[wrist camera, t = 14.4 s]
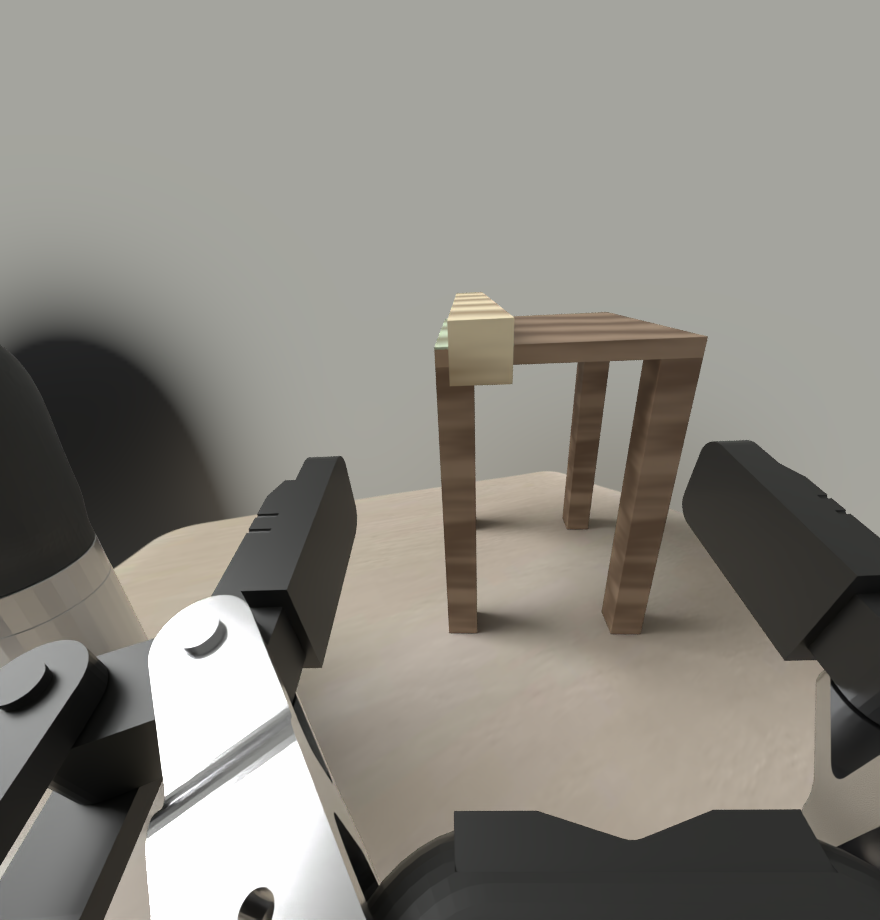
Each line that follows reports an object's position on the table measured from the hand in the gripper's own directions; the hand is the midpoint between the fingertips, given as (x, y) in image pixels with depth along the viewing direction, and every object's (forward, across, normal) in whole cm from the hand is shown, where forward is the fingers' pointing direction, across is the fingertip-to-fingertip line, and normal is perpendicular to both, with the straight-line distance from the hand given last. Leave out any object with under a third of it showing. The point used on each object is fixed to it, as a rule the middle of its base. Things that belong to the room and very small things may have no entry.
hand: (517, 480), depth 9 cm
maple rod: (+26, 0, +5) cm, 27 cm away
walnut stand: (+27, -8, +36) cm, 46 cm away
